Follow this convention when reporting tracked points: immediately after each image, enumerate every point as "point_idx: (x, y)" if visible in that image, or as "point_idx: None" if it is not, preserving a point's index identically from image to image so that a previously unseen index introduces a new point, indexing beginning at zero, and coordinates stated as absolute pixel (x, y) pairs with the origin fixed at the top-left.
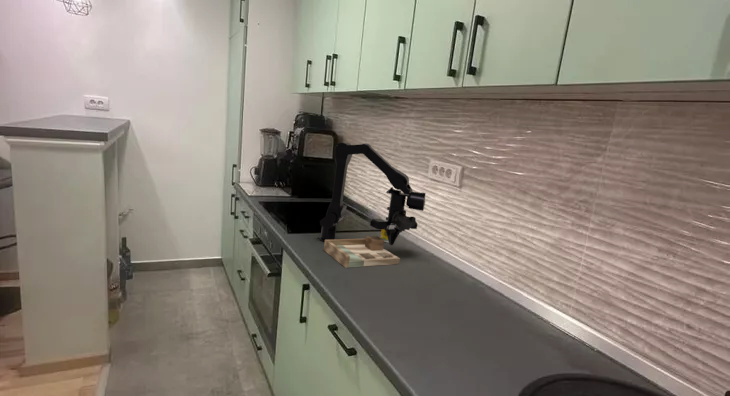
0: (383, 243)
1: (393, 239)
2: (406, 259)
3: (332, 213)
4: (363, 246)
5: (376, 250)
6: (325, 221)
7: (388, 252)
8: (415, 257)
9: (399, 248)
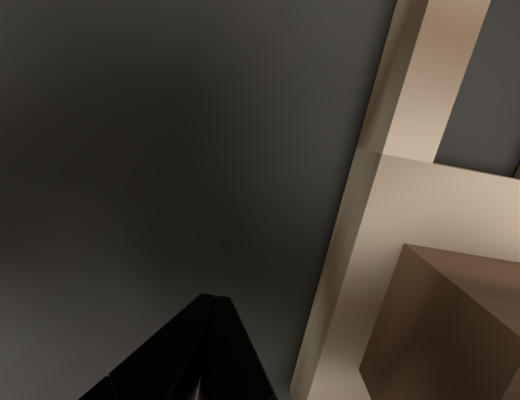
0: (469, 296)
1: (192, 359)
2: (198, 4)
3: None
4: None
5: (487, 255)
6: None
7: (408, 146)
8: (19, 18)
9: (38, 312)
